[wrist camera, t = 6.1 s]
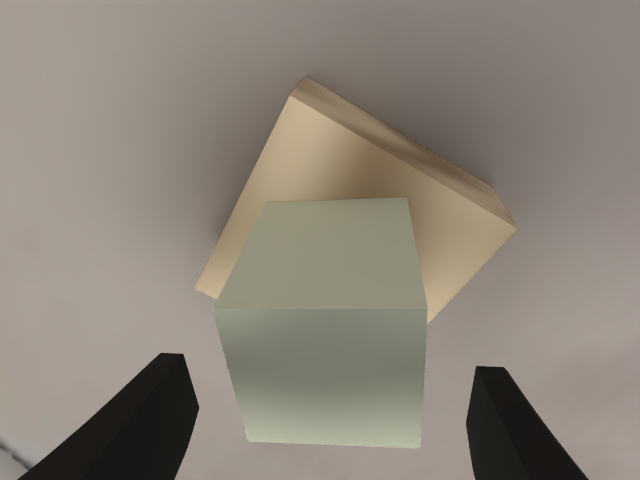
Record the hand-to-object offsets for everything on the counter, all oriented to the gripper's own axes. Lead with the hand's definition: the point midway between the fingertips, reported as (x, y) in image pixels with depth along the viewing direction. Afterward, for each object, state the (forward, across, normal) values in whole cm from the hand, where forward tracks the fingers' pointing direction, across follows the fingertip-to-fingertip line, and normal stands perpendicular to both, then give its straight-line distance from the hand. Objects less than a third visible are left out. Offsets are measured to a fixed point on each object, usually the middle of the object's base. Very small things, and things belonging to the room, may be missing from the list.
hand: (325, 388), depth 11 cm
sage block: (+6, 0, 0) cm, 6 cm away
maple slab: (+10, 0, 0) cm, 10 cm away
